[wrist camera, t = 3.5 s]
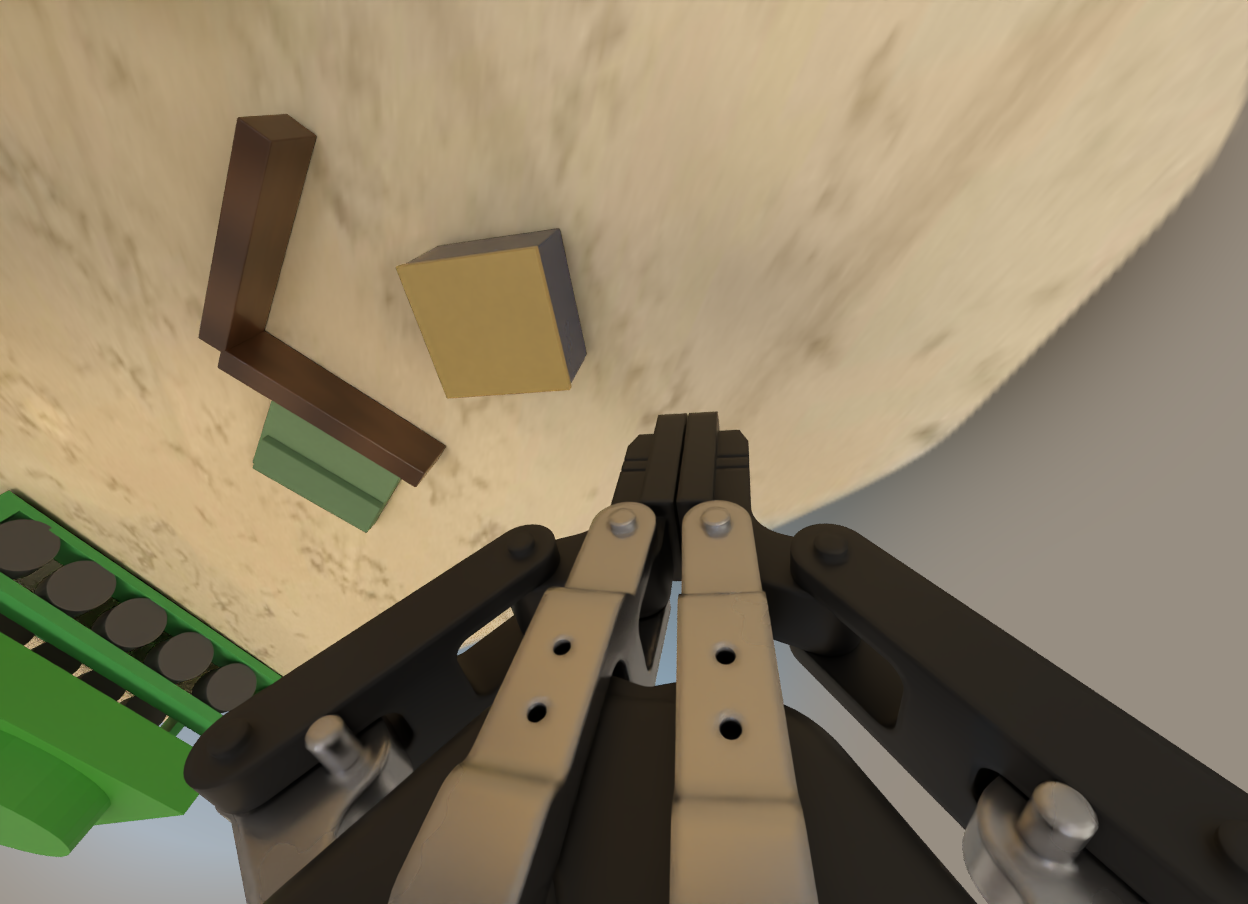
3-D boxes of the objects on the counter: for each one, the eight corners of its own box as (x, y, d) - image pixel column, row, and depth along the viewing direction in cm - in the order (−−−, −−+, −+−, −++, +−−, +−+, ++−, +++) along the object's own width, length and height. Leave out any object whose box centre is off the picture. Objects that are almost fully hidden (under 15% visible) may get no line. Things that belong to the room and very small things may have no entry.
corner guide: (325, 463, 36) (296, 490, 34) (140, 147, 26) (79, 153, 24) (451, 458, 34) (430, 487, 32) (305, 109, 24) (257, 112, 21)
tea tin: (477, 364, 30) (446, 398, 27) (436, 244, 26) (395, 267, 23) (588, 355, 28) (570, 390, 25) (560, 226, 25) (535, 247, 22)
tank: (-50, 436, 42) (-408, 597, 29) (291, 683, 57) (158, 864, 43) (-125, 524, 52) (-415, 673, 39) (181, 714, 67) (46, 868, 54)
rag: (260, 456, 37) (245, 467, 36) (281, 389, 33) (265, 400, 32) (375, 522, 39) (364, 535, 38) (408, 466, 35) (397, 479, 34)
